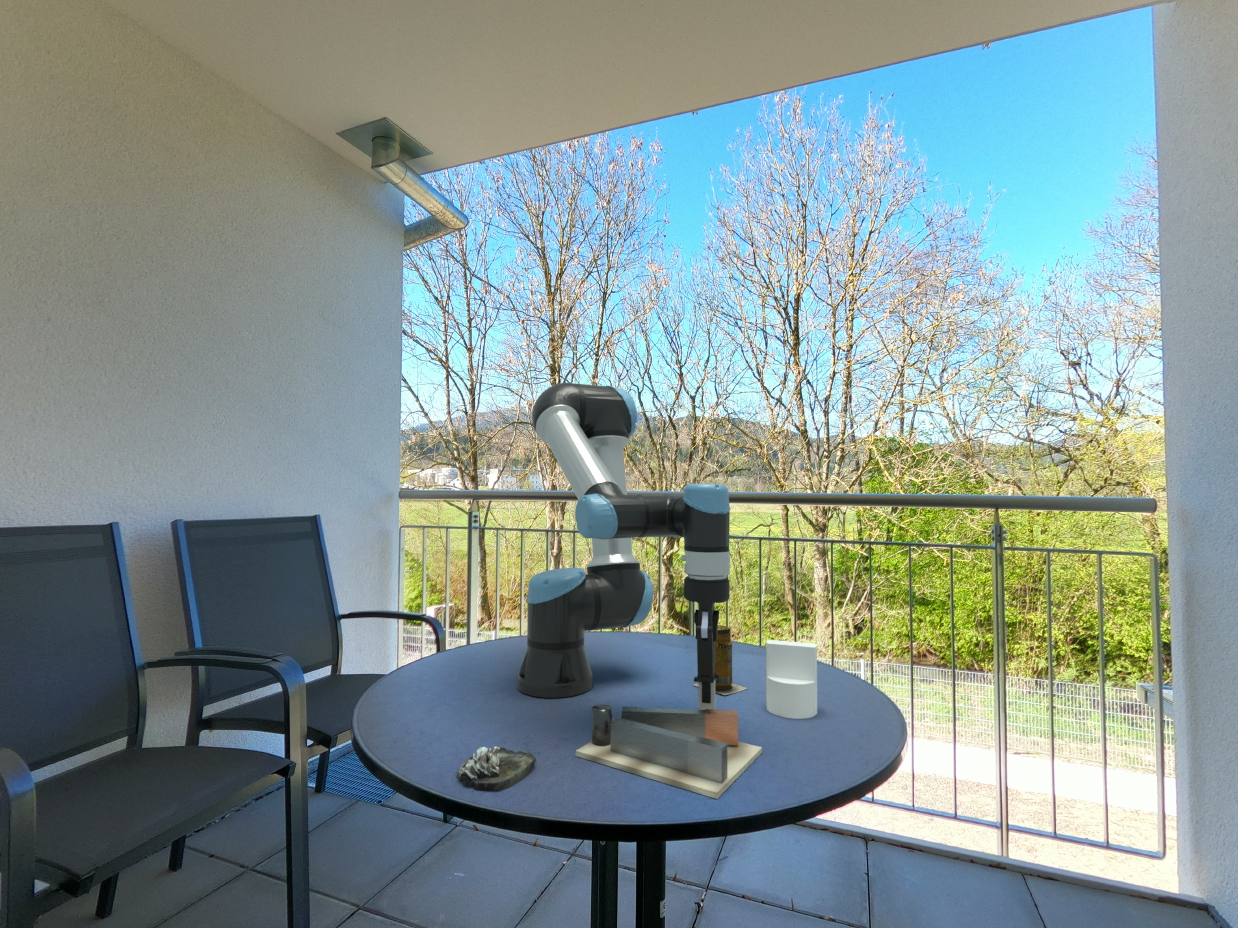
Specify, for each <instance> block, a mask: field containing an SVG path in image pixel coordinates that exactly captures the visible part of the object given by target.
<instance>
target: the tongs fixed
mask: <svg viewBox="0 0 1238 928" xmlns="http://www.w3.org/2000/svg"><path fill="white" fill-rule="evenodd" d="M591 741H592V744H594V745H596V746H608V745H610V744H611V746H610V751H611V752H615V753H618V754H621V755H625V756H628V757H632V758H635V759H639V760H642V761H646V762H649V763H653V764H656V765H660V766H663V767H667V768H670V769H674V770H677V771H680V772H684V773H687V774H690V775H693V776H697V777H700V778H703V779H707V780H710V781H714V782H717V783H721V784H722V783H723V782H724V781H725V780H726V779H727V743H723V742H719V741H715V740H711V739H707V738H703V737H699V736H695V735H694V736H691V735H687V734H683V733H679V732H675V731H671V730H667V729H663V728H659V727H655V726H651V725H647V724H643V723H638V722H634V721H630V720H626V719H622V718H621V717H618V716H616V717H615V718H613V707H612V706H611V705H610V704H603V703H602V704H595V705H593V706H592V707H591Z"/></svg>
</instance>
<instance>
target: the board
mask: <svg viewBox="0 0 1238 928" xmlns="http://www.w3.org/2000/svg"><path fill="white" fill-rule="evenodd" d="M610 746H611V744H610V745H608V746H596V745H594V744H592V740H591V741H589V742H588V743H586V744H584V745H583V746H581V747H579V748H578V749H576V750H575V757H578V758H581V759H585V760H587V761H591V762H594V763H598V764H601V765H604V766H607V767H611V768H613V769H618V770H621V771H624V772H627V773H631V774H634V775H637V776H640V777H643V778H647V779H650V780H653V781H656V782H660V783H663V784H666V785H669V786H673V787H676V788H679V789H683V790H685V791H689V792H693V793H696V794H699V795H702V796H706V797H709V798H712V799H714V800H715V799H716V800H718V799H719V798H720V797H721V796H722V794H724V793H725V792H726V790H728V788H729V787H730V786H731V785H732V784H733V783H734V782H735V781H736V780H737V779H738V778H739V777H740V776H741V775H742V774H743V773H744V772H745V771H746V770H747V769H748V768H749V767H750V766H751V765H752V764H753V763H754V762H755V760H757V759H758V757H759V756H760V755H762V753H763V747H762V746H759V745H754V744H750V743H746V742H741V741H738V745H727V779H726V780H725V781H724V782H723V783H722V784H721V783H717V782H714V781H710V780H707V779H703V778H700V777H697V776H693V775H690V774H687V773H684V772H680V771H677V770H674V769H670V768H667V767H663V766H660V765H656V764H653V763H649V762H646V761H642V760H639V759H635V758H632V757H628V756H625V755H621V754H618V753H615V752H611V751H610Z"/></svg>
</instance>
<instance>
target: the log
mask: <svg viewBox="0 0 1238 928" xmlns="http://www.w3.org/2000/svg"><path fill="white" fill-rule="evenodd" d="M536 761H537V758H536V757H535V756H534V754H533V753H532V752H529V751H522V750H521V749H520V750H517V751H514V750H513V749H510V750H508V749H507V748H506V747H502V746H499V747H498V746H494V747H493V748H491V747H489V748H488V747H485V746H481V747H478V748H477V749H476V753H472V755H471V757H468V758H467V759H466V760H464V762H463V764H461V765H460V767H459V769H458V770H457V773H456V777H457V778H458V779H457V780H458V781H459V782H462V784H464V785H465V786H467V787H468V788H469V789H473V790H475V791H483V792H491V793H495V792H502V791H505V790H506V789H510V787H513V786H514V785H516V784H517V783H519V782H521V781H523V780H524V779H525V777H527V776H528V775H529V774H531V772H532V770H533V769H534V765H535V763H536Z"/></svg>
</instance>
